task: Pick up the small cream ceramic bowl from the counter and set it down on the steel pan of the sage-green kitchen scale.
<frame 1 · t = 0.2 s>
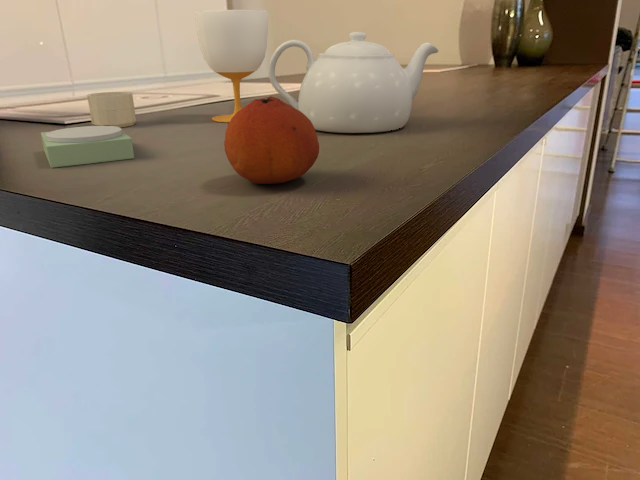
cup: (238, 119, 93), on the countertop
scale: (87, 154, 66), on the countertop
bowl: (114, 125, 88), on the countertop
fruit: (274, 183, 52), on the countertop
teapot: (352, 127, 83), on the countertop
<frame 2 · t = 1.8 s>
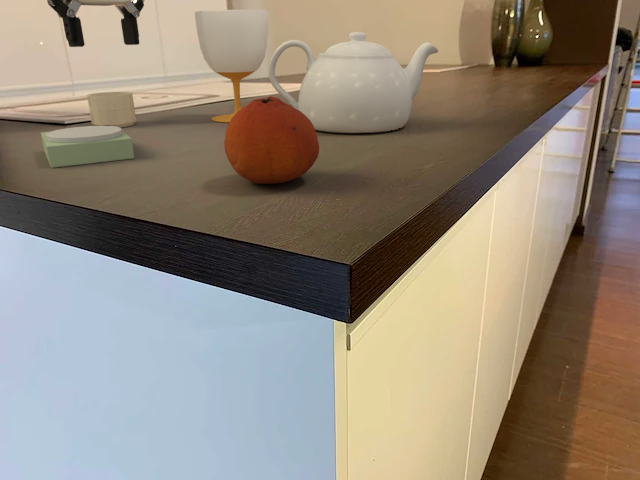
hand: (105, 45, 84), 12 cm above the countertop, tool pointing down, fingers open, 9 cm apart
nothing on the countertop moved.
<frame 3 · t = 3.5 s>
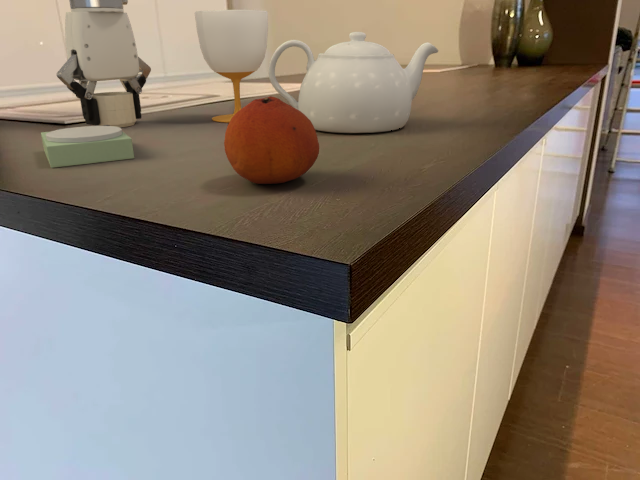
hand: (114, 120, 88), 1 cm above the countertop, tool pointing down, fingers closed on bowl, 7 cm apart
bowl: (114, 125, 88), on the countertop, touching gripper
everything else where it was.
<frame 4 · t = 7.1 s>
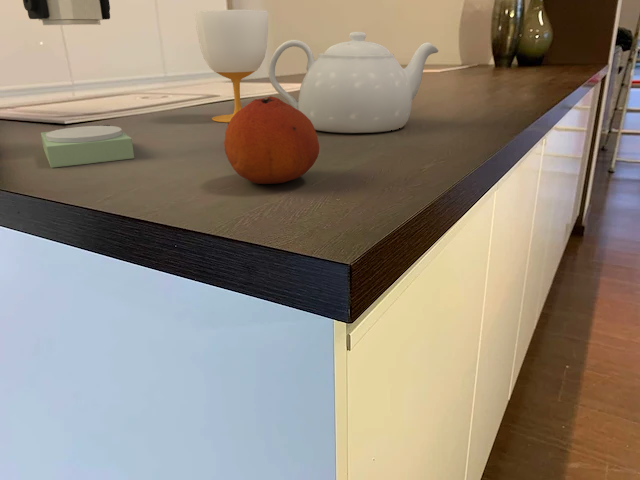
hand: (71, 17, 63), 16 cm above the countertop, tool pointing down, fingers closed on bowl, 7 cm apart
bowl: (72, 25, 63), point 15 cm above the countertop, touching gripper
everything else where it was.
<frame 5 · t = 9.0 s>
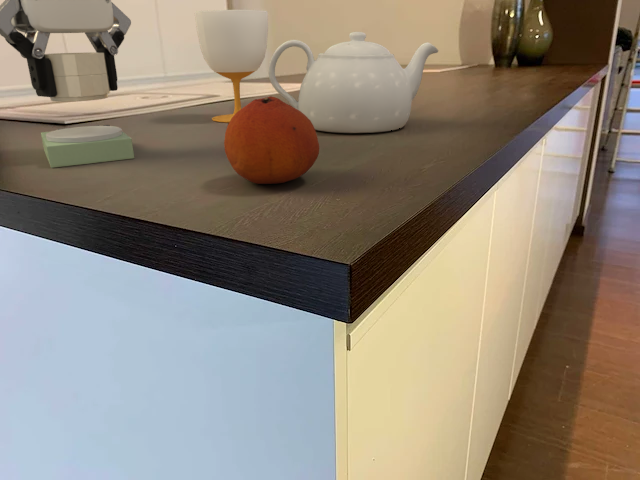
hand: (78, 91, 62), 8 cm above the countertop, tool pointing down, fingers closed on bowl, 7 cm apart
bowl: (79, 98, 63), point 7 cm above the countertop, touching gripper
everything else where it was.
when the fingers open (4 cm above the countertop, at t = 10.6 s): bowl stays where it is, resting on scale.
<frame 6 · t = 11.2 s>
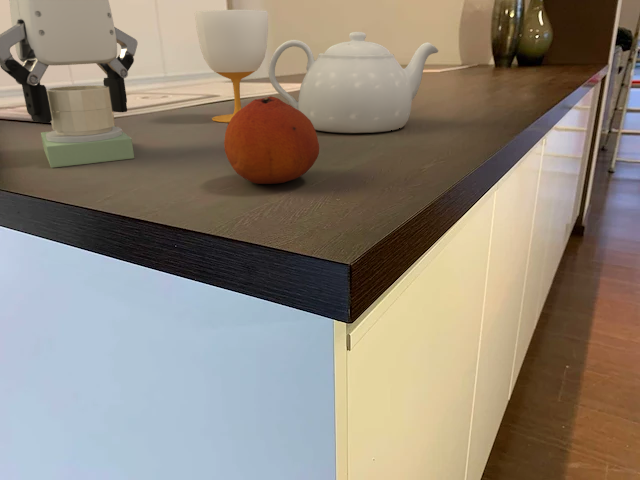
hand: (82, 116, 64), 5 cm above the countertop, tool pointing down, fingers open, 9 cm apart
bowl: (85, 131, 64), point 3 cm above the countertop, touching scale
everything else where it was.
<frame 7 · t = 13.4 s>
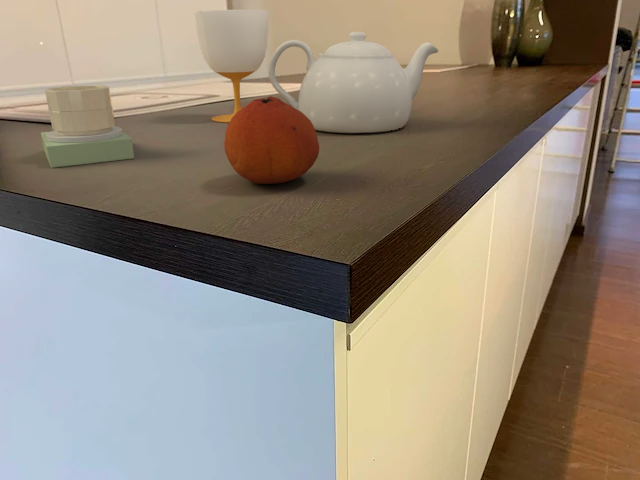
nothing on the countertop moved.
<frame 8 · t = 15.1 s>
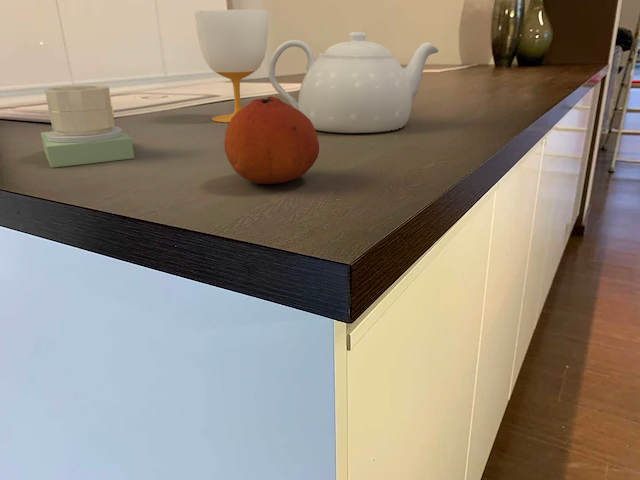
nothing on the countertop moved.
at the end: bowl inside the target area on the scale (0.2 cm from its centre), point 3.0 cm above the scale's base; bowl tilted 0°; the gripper is holding nothing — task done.
